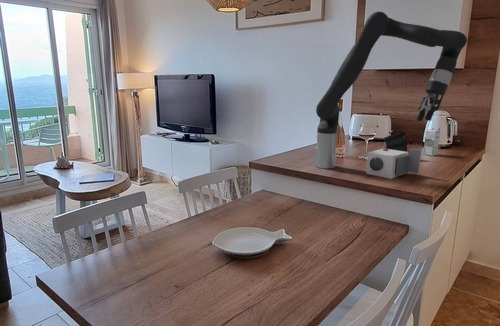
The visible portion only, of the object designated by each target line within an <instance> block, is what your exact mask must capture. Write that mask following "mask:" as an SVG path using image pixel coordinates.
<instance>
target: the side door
mask: <svg viewBox="0 0 500 326" xmlns="http://www.w3.org/2000/svg"><path fill="white" fill-rule="evenodd" d="M408 151H409V152H408V155H405V156H402V157H398V158H397V165H396V176H398V177H399V175H400V176H403V175H405V173H406V174H408V173H414V174H419V172H420V164H421V154H422V150H421V149H418V148H417V149H416V148H409V150H408ZM402 174H403V175H402Z"/></svg>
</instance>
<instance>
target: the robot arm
mask: <svg viewBox="0 0 500 326" xmlns="http://www.w3.org/2000/svg"><path fill="white" fill-rule="evenodd" d="M382 36H383V37H392V38H398V39H401V40H405V41H408V42H411V43H414V44H418V45H422V46H424V47H429V48H435V47H442V48H441V52H440V55H439V58H438V60H437V62H436V63H435V67H434V70H433V71H432V73H431V75H430V77H429V80H428V82H427V85H426V87H425V88H424V89H425V90H424V92H425V93H426V94H427V96H423V98H422V100H421V101H420V104H419V107H418V111H419V113H418V114H417V117H416V120H417V121H419V122H423V119H424V120H425V121H428V122H430V121H431V120H432V118H433V116H434V114H435V112H437V111H439V109H440V106H441V103H442V100H443V98H444V96H445V95H446V92H447V90H448V88H449V86H450V83H451V81H452V77H453V73H454V72H455V69H456V67H457V61H458V58H459V57H460V54H461V52H462V50H463V48H464V47H465V46H466V45H467V41H468V38H467V35H466V34H464V33H463V32H461V31H459V30H452V29H451V30H449V29H437V28H433V27H429V26H425V25H419V24H413V23H405V22H402V21H399V20H397V19H393V18H391V17H388V14H386V13H385V12H384V11H375V12H373V13H371V14H370V15H369V16H368V18H367V19H366V20H365V23H364V25H363V28H362V30H361V32H360V34H359V36H358V38H357V40H356V42H355V43H354V45H353V46H352V47H351V49H350V51H349V52H348V53H347V55H346V57H345V58H344V60H343V62H342V63H341V65H340V66H339V69H338V71H337V72H336V75H335V76H334V78H333V80H332V82H331V84H330V86H329V88H328V89H327V91H326V92H325V93H324V95H323V96H322V98H321V99H320V101H319V102H318V103H317V105H316V110H315V111H316V115H317V116H318V117H319V124H318V126H317V131H316V135H317V136H316V137H317V138H316V147H314V167H316V168H319V169H334V168H335V167H336V152H337V132H338V131H337V130H338V126H339V119H340V106H339V103H340V101H341V99H342V97H343V96H344V95H345V93H346V92H347V91H348V90H349V89H350V88H351V86H353V85H354V83H355V82H356V81H357V79H358V77H359V76H360V74H361V73H362V71H363V69H364V68H365V66H366V63H367V61H368V59H369V56H370V54H371V53H372V52H371V51H372V49H373V47H374V46H375V45H376V43H377V41H379V38H380V37H382Z"/></svg>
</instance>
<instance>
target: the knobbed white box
mask: <svg viewBox="0 0 500 326" xmlns="http://www.w3.org/2000/svg"><path fill="white" fill-rule="evenodd" d="M405 155H409V152H408V151H407V152H404V151H397V150H390V149H387V148H384V147H383V148H381V149H376V150H373V151H372V150H370V151H368V152H367V155H366V156H367V158H366V159H367V160H366V173H365V174H367V175H371V176H376V177H381V178H384V179H390V180H391V179H394V178H397V177H399V176H403V175H405V174H407V173H405V174H402V175H399V176H396V165H397V158H398V157H402V156H405Z"/></svg>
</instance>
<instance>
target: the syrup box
mask: <svg viewBox="0 0 500 326" xmlns="http://www.w3.org/2000/svg"><path fill="white" fill-rule="evenodd" d="M440 136H441V129H433V128H432V129H431V128H430V129H426V130H425V136H424V145H423V155H426V156H429V155H430V156H431V157H435V156H434V155H436V156H437V155H438V153H439V145H440V144H439V143H440Z"/></svg>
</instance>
